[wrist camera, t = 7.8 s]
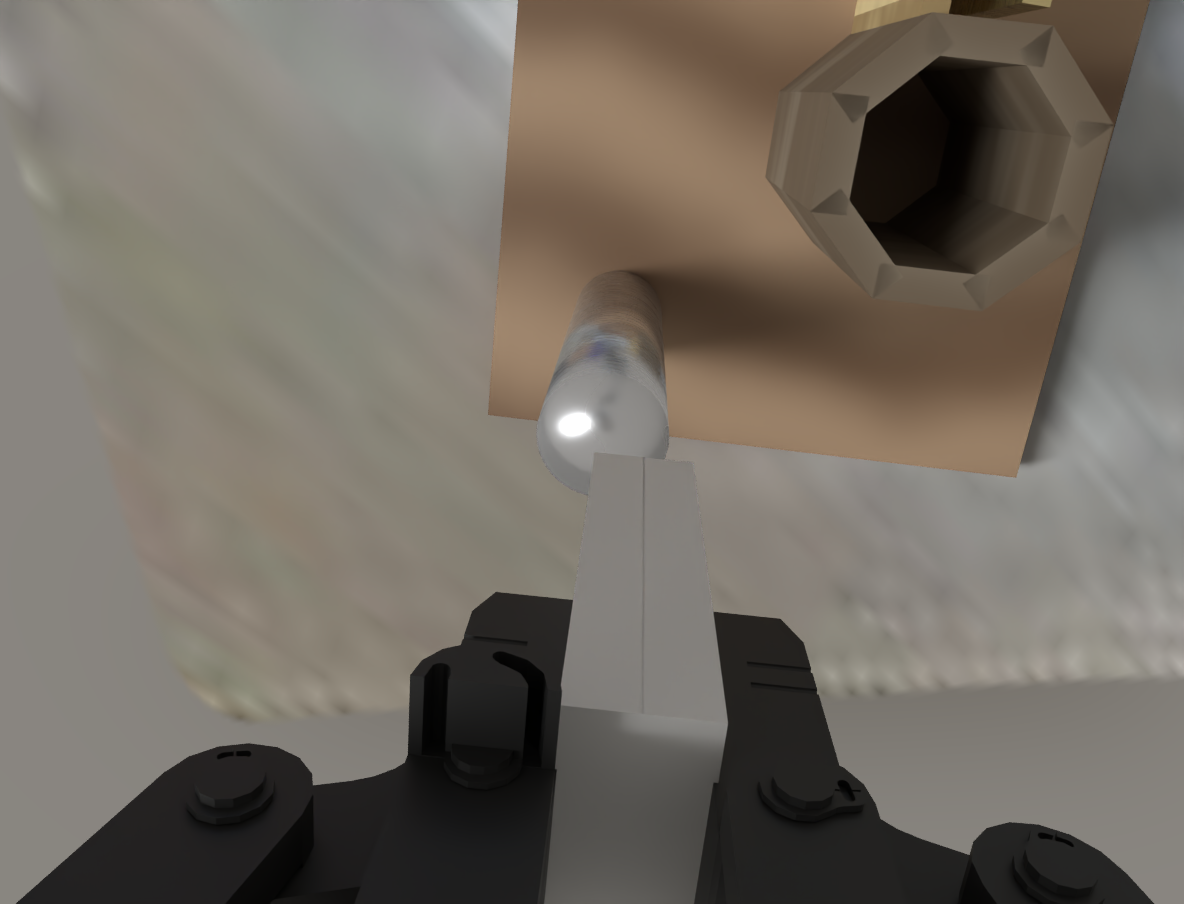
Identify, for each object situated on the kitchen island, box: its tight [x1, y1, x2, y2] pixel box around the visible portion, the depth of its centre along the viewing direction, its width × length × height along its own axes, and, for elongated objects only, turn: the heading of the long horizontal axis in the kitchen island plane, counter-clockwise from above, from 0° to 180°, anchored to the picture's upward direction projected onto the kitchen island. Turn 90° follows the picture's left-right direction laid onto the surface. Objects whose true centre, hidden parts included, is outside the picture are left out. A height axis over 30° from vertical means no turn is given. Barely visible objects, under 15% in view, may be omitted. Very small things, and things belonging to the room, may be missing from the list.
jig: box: [488, 0, 1150, 477], centre depth 25 cm, size 24×18×10 cm
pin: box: [537, 270, 669, 495], centre depth 26 cm, size 3×3×12 cm
